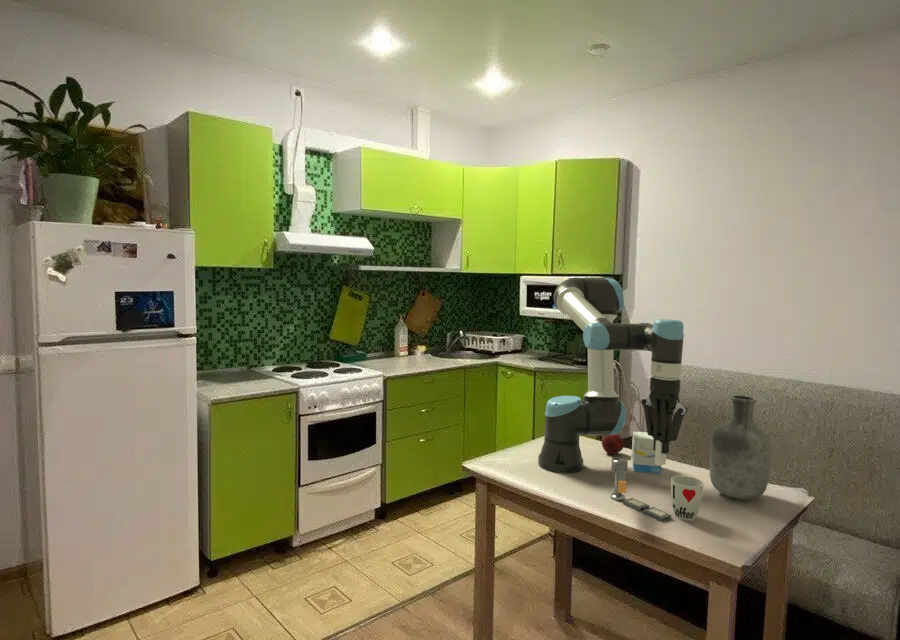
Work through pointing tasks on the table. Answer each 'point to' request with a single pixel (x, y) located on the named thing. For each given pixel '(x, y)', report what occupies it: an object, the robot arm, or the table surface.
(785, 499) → the table surface
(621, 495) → the post
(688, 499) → the cup
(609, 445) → the apple
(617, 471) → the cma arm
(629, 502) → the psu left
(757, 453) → the vase
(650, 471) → the ink box
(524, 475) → the table surface
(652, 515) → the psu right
